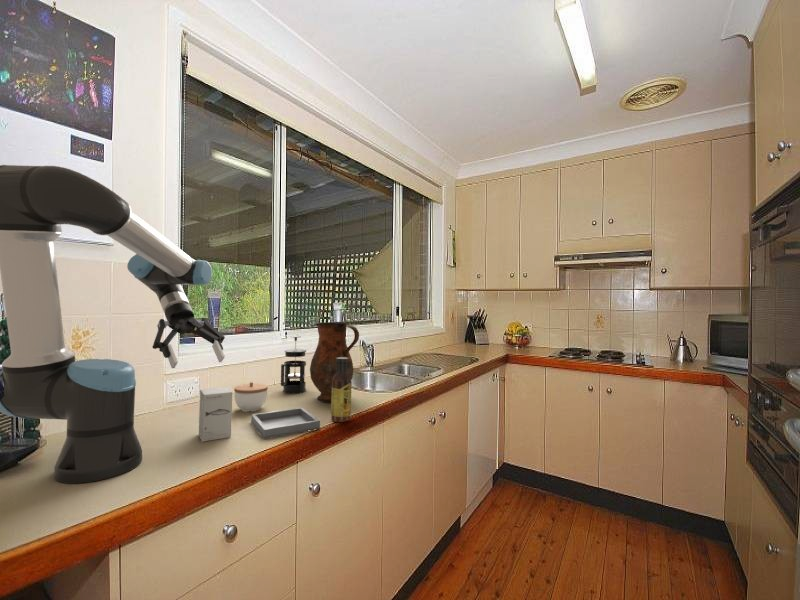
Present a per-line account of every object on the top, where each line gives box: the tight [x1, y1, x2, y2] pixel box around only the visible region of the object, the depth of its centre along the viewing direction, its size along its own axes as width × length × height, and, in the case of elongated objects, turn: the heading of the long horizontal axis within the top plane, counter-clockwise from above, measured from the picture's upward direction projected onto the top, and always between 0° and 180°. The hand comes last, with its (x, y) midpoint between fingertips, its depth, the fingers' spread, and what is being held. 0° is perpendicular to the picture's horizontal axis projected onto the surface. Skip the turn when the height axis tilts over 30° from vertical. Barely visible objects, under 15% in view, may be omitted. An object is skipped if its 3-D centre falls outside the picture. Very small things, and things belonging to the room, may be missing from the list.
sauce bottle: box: [330, 357, 352, 423], centre depth 120 cm, size 7×6×20 cm
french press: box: [280, 335, 307, 394], centre depth 157 cm, size 12×9×23 cm
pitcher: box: [309, 321, 360, 404], centre depth 144 cm, size 17×21×30 cm
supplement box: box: [198, 386, 233, 443], centre depth 104 cm, size 7×7×13 cm
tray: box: [250, 407, 321, 440], centre depth 113 cm, size 16×16×2 cm
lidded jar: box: [233, 381, 269, 413], centre depth 130 cm, size 11×11×9 cm
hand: (199, 362), depth 111 cm, fingers open, 13 cm apart
